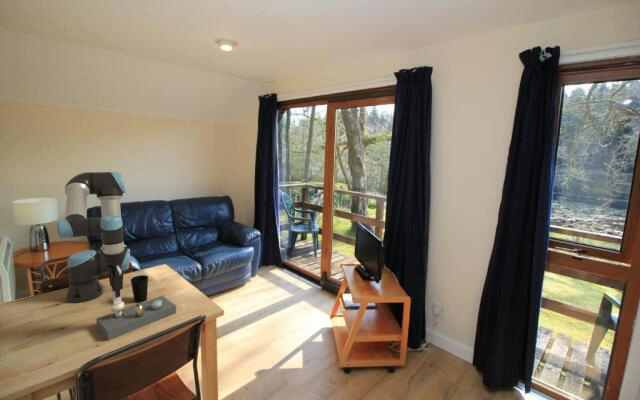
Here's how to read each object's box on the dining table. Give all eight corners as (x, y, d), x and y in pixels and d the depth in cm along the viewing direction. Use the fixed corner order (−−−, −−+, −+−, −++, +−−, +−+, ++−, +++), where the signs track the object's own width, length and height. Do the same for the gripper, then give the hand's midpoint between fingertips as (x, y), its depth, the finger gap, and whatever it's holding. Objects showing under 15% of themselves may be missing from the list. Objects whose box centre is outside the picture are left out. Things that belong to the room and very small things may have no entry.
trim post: (134, 315, 134) (133, 304, 133) (141, 313, 136) (140, 302, 135) (137, 318, 132) (136, 306, 131) (144, 315, 134) (143, 304, 133)
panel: (97, 326, 131) (96, 318, 130) (162, 303, 153) (162, 295, 152) (108, 340, 123) (107, 331, 122) (176, 313, 145) (175, 305, 144)
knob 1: (110, 317, 133) (109, 304, 132) (122, 313, 137) (121, 300, 136) (114, 321, 130) (113, 308, 129) (126, 317, 134) (125, 303, 133)
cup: (141, 304, 150) (140, 282, 148) (128, 302, 152) (126, 280, 150) (152, 297, 158) (151, 276, 156) (140, 295, 159) (139, 274, 157)
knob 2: (149, 315, 141) (148, 302, 140) (159, 311, 145) (159, 298, 144) (153, 318, 138) (153, 305, 137) (164, 314, 142) (163, 302, 141)
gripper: (98, 250, 129) (102, 301, 133) (108, 257, 121) (113, 311, 125) (117, 246, 135) (121, 295, 139) (129, 253, 127) (132, 304, 131)
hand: (117, 302), depth 132 cm, fingers closed
